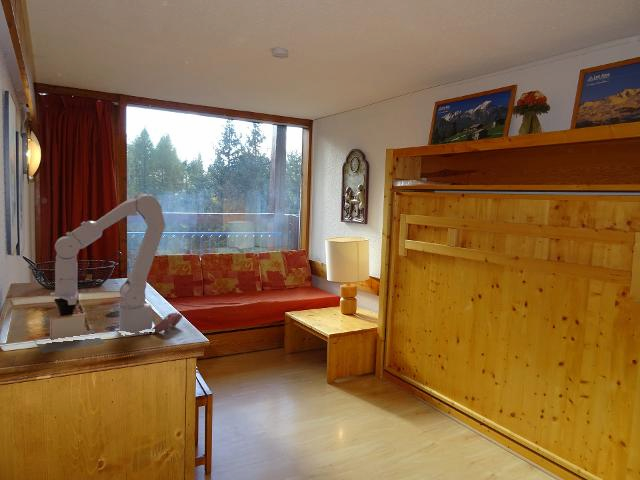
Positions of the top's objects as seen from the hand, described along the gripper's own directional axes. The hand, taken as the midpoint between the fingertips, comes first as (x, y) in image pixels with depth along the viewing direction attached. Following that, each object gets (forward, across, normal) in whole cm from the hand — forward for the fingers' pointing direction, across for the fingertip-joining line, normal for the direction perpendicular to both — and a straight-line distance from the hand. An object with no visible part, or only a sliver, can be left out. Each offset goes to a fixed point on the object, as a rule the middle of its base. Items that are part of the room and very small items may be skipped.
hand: (66, 322), depth 138 cm
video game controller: (+5, +6, +29) cm, 30 cm away
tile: (+4, +2, 0) cm, 5 cm away
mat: (+5, +4, 0) cm, 6 cm away
